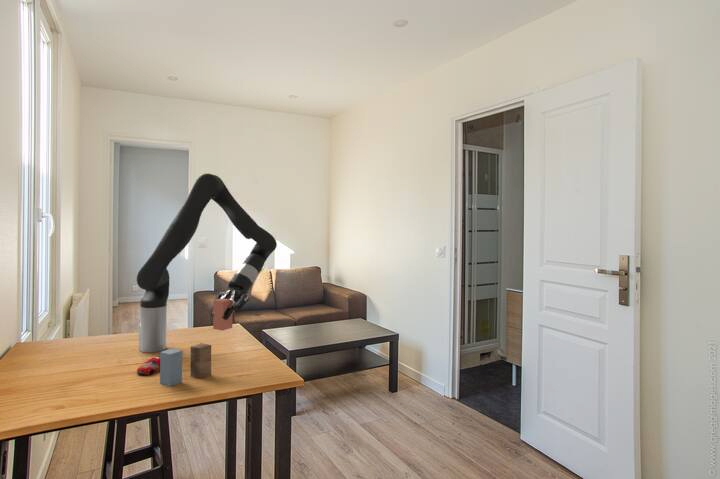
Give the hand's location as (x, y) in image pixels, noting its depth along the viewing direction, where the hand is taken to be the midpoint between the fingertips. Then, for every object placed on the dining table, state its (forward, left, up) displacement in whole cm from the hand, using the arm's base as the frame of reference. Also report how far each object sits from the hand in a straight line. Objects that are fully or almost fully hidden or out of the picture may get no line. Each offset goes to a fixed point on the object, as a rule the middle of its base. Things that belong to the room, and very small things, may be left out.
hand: (218, 317), depth 145 cm
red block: (0, +2, -4) cm, 5 cm away
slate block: (-3, -17, -18) cm, 25 cm away
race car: (-18, -11, -18) cm, 28 cm away
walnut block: (0, -8, -18) cm, 20 cm away
